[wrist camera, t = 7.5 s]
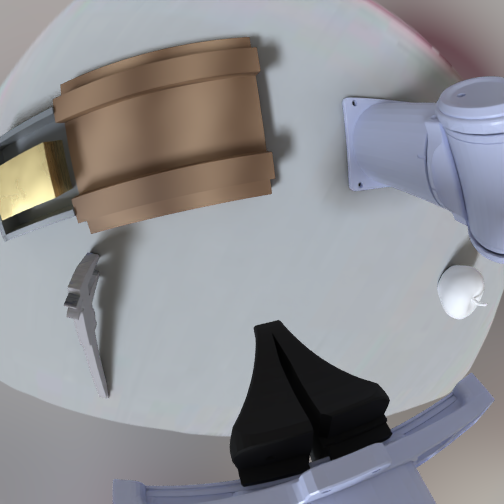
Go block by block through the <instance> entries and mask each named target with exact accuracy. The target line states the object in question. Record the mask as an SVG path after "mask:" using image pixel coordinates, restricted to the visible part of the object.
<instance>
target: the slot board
mask: <svg viewBox="0 0 504 504" xmlns="http://www.w3.org/2000/svg"><path fill="white" fill-rule="evenodd" d="M259 72H260V65H259V58H258V52H257V47H254V48H251V44H250V38H249V37H242V38H230V39H220V40H212V41H205V42H198V43H192V44H186V45H181V46H176V47H171V48H166V49H162V50H158V51H153V52H150V53H146V54H142V55H138V56H135V57H131V58H128V59H125V60H122V61H119V62H116V63H113V64H110V65H107V66H104V67H101V68H99V69H96V70H93V71H91V72H88V73H86V74H83V75H81V76H79V77H76V78H74V79H72V80H70V81H67V82H65V83H63V84H61V85H60V86H61V96H59V97H57V98H55V99H53V108H54V116H55V123H65V129H66V135H67V141H68V146H69V152H70V157H71V161H72V166H73V171H74V175H75V179H76V183H77V187H78V191H79V195H77V196H76V197H74V198H72V199H71V200H72V204H73V207H74V210H75V214H76V217H77V220H78V223H81V222H84V221H87V222H88V226H89V229H90V232H91V234H93V233H97V232H100V231H104V230H108V229H111V228H115V227H119V226H123V225H127V224H131V223H135V222H139V221H143V220H147V219H151V218H155V217H160V216H164V215H168V214H173V213H177V212H182V211H186V210H191V209H195V208H200V207H205V206H210V205H215V204H220V203H225V202H230V201H235V200H240V199H246V198H251V197H257V196H262V195H268V194H272V190H271V182H270V179H275V171H274V163H273V155H272V152H269V151H266V143H265V136H264V129H263V122H262V114H261V108H260V101H259V94H258V87H257V81H256V75H257V74H258V73H259Z"/></svg>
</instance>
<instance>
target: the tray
mask: <svg viewBox="0 0 504 504" xmlns="http://www.w3.org/2000/svg"><path fill="white" fill-rule="evenodd" d="M57 140H62V142H63V147H64V153H65V158H66V162H67V167H68V171H69V176H70V180H71V184H72V188H73V189H71V190H69V191H67V192H65V193H63V194H61V195H60V196H58V197H56V198H54V199H51V200H49V201H46V202H44V203H41V204H39V205H36V206H34V207H31V208H29V209H27V210H24V211H22V212H20V213H18V214H15V215H13V216H11V217H9V218H7V219H5V220H3V221H2V218H1V215H0V231H1V234H2V237H3V239H4V242H5V241H8V240H10V239H13V238H15V237H18V236H20V235H23V234H26V233H28V232H31V231H34V230H36V229H39V228H42V227H45V226H47V225H50V224H53V223H56V222H59V221H62V220H65V219H68V218H71V217H74V216H76V214H75V210H74V207H73V204H72V200H71V199H72V198H74V197H76V196H77V195H79V191H78V187H77V183H76V179H75V175H74V171H73V166H72V161H71V157H70V152H69V146H68V141H67V135H66V129H65V123H55V116H54V108H53V107H51V108H49V109H47V110H45V111H43V112H41V113H39V114H38V115H36V116H34V117H32V118H30V119H28V120H27V121H25V122H23V123H21V124H20V125H18V126H16V127H15V128H13V129H11V130H10V131H8V132H7V133H5V134H4V135H2V136H1V137H0V166H1V165H2V164H4V163H6V162H7V161H9V160H11V159H12V158H14V157H16V156H18V155H19V154H21V153H23V152H25V151H27V150H29V149H31V148H33V147H35V146H37V145H39V144H41V143H43V142H48V141H57Z"/></svg>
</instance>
